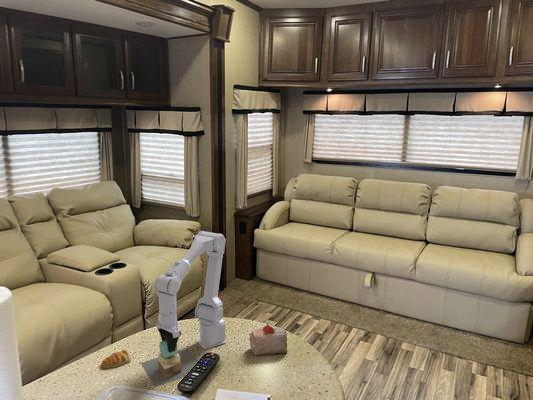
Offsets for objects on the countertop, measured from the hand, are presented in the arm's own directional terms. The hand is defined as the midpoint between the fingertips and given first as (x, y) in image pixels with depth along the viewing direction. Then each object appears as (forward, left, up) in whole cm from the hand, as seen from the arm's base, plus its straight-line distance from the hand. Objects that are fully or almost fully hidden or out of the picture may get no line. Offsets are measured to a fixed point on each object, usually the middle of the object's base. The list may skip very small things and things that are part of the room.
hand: (169, 348), depth 137 cm
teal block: (0, 0, -2) cm, 2 cm away
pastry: (+14, -15, -9) cm, 22 cm away
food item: (-36, +7, -9) cm, 38 cm away
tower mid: (0, 0, -5) cm, 5 cm away
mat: (-2, -2, -9) cm, 9 cm away
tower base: (0, 0, -8) cm, 8 cm away
